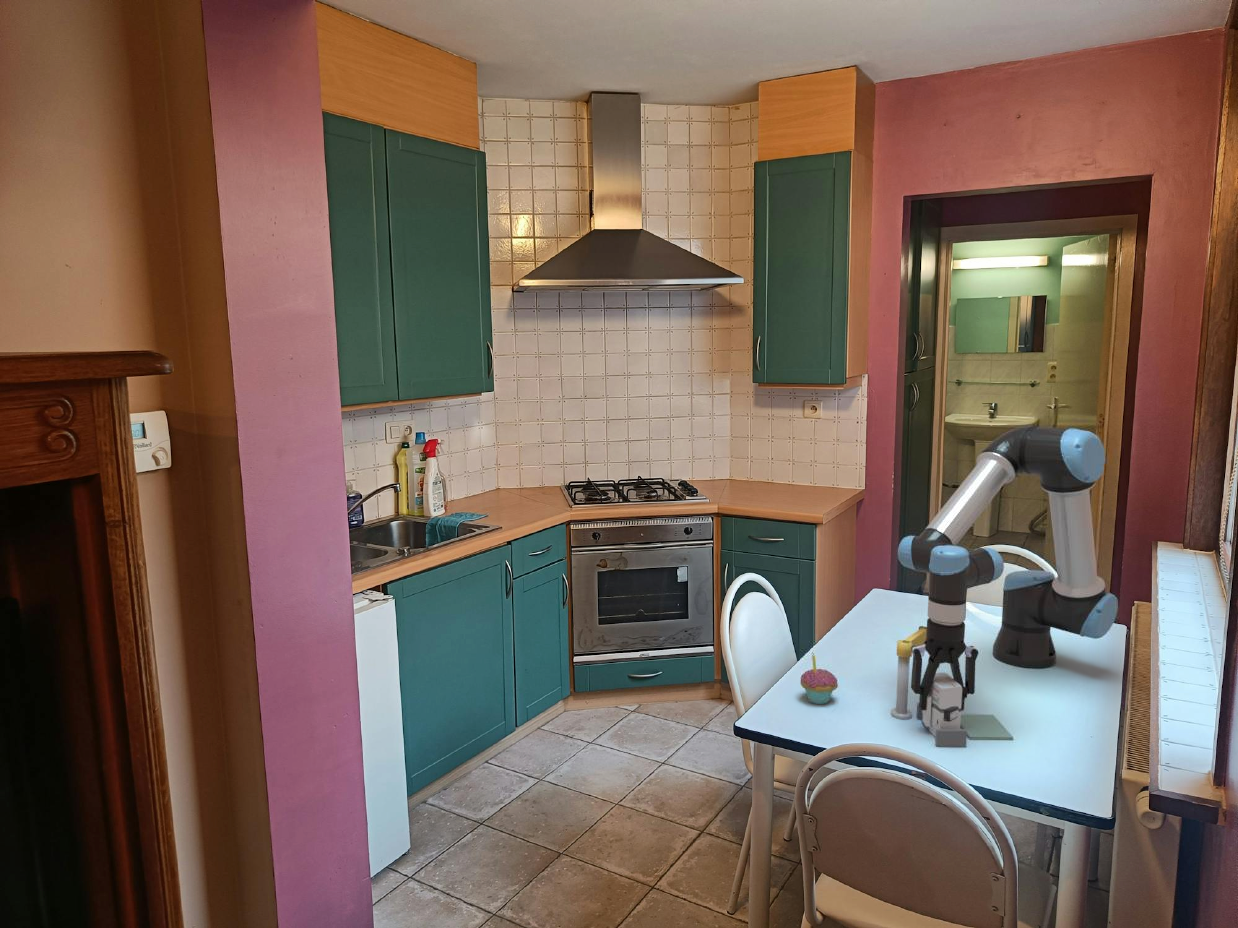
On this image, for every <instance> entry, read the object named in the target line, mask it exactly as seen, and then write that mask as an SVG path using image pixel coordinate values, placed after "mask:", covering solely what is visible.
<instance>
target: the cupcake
mask: <svg viewBox="0 0 1238 928" xmlns="http://www.w3.org/2000/svg"><path fill="white" fill-rule="evenodd" d="M811 657H812V658H811V659H812V667H813V668H812V669H809V670H807V671H804V673H802V674H801V677H800V686H801V687H802V688H803V689H804V691H805V692H806V696H807V700H808V702H811V703H813V704H816V705H817V704H818V705H823V704H828V703H829V702H830V699H831V696H832V695H833V694H832V693H833V691H836V689H838V687H839V684H838V679H837V676H835V675H834V674H833V673H832V672H830V671H829V670H827V669H822V668H817V663H816V661H817V660H816V655H815V654H814V652H812V655H811Z"/></svg>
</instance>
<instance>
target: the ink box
mask: <svg viewBox="0 0 1238 928" xmlns="http://www.w3.org/2000/svg"><path fill="white" fill-rule="evenodd" d="M929 695H930V696H931V697H932V701H931V720H930V727H927V726H926V725H925V724H924V722H923V710H922V719H921V724H922V726H923V727H924V728H926V729H927V731H929V733H931V734H932V735H933V736H934V738H936V729H961V728H960V723H961V714H962V711H961V703H962V687H961V685H960V684H959V683H957V682H956V681H955V680H954V679H953V677H952V676H950V674H948V673H946V672H936V674H935V677H934V679H933V682H932V685H931V688H930V691H929Z"/></svg>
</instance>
